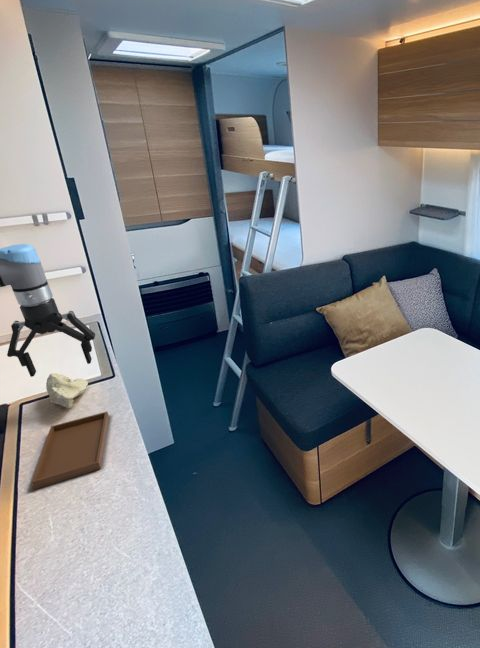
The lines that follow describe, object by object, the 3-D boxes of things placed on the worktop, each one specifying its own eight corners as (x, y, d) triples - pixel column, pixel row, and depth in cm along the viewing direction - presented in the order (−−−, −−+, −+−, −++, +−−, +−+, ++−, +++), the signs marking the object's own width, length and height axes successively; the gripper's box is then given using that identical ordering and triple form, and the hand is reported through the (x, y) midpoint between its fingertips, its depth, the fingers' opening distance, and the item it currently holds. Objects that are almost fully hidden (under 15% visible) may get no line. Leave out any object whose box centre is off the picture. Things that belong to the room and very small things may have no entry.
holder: (34, 489, 94) (31, 482, 93) (53, 432, 112) (51, 426, 111) (100, 468, 100) (98, 462, 99) (109, 417, 117) (107, 411, 116)
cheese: (64, 393, 131) (17, 390, 117) (78, 373, 133) (33, 368, 118) (95, 418, 127) (50, 418, 113) (109, 397, 128) (66, 395, 114)
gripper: (-28, 317, 103) (4, 386, 111) (88, 297, 113) (110, 362, 121) (-18, 306, 109) (12, 372, 117) (92, 288, 119) (112, 350, 127)
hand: (62, 367), depth 119 cm, fingers open, 13 cm apart
